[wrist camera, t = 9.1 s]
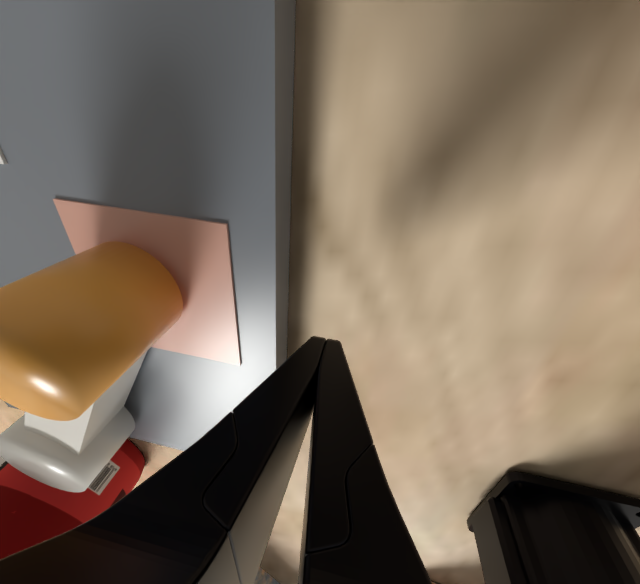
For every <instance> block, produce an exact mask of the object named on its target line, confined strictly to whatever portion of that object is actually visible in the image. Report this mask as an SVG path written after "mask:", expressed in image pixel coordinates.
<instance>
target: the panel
mask: <svg viewBox="0 0 640 584" xmlns="http://www.w3.org/2000/svg"><path fill="white" fill-rule="evenodd" d="M295 12H296V0H0V288H1V287H3V286H5V285H8V284H10V283H12V282H14V281H17V280H19V279H21V278H24V277H26V276H28V275H30V274H33V273H35V272H37V271H40V270H42V269H44V268H46V267H49V266H51V265H53V264H56V263H58V262H60V261H63V260H65V259H67V258H69V257H72V256H74V255H76V254H79V253H81V252H83V251H85V250H88V249H90V248H92V247H95V246H97V245H99V244H101V243H104V242H109V241H118V242H124V243H128V244H131V245H134V246H136V247H138V248H140V249H142V250H144V251H146V252H147V253H149V254H150V255H152V256H153V257H154V258H156V259H157V260H158V261H159V262H160V263H161V264H162V265H163V266H164V267H165V268H166V269H167V270H168V271H169V273H170V274H171V275H172V277H173V278H174V280H175V281H176V283H177V285H178V287H179V289H180V292H181V295H182V300H183V310H182V314H181V317H180V318H179V320H178V321H177V322H176V323H175V324H174V325H173V326H172V327H171V328H170V329H169V330H168V331H167V332H166V333H165V334H164V335H163V336H162V337H161V338H160V339H159V340H158V341H157V342H156V343H155V344H154V345H152V346H151V347H150V348H149V349H148V351H147V353H146V355H145V358H144V360H143V362H142V365H141V367H140V369H139V372H138V374H137V376H136V379H135V381H134V383H133V386H132V388H131V391H130V393H129V395H128V398H127V400H126V402H125V405H124V407H125V408H126V409H127V410H128V411H129V412H130V414H131V415H132V417H133V419H134V421H135V429H134V431H133V432H132V433H131V434H130V436H129V437H131V438H134V439H138V440H142V441H146V442H150V443H154V444H158V445H162V446H166V447H170V448H174V449H178V450H182V451H185V450H186V449H187V448H189V447H190V446H191V445H193V444H194V443H195V442H196V441H198V440H199V439H200V438H201V437H202V436H204V435H205V434H206V433H207V432H208V431H209V430H210V429H212V428H213V427H214V426H215V425H216V424H217V423H219V422H220V421H221V420H222V419H223V418H224V417H225V416H226V415H227V414H228V413H229V412H233V409H234V408H235V407H236V406H237V405H238V404H239V403H240V402H241V401H243V400H244V399H245V398H246V397H247V396H248V395H249V394H250V393H251V392H252V391H253V390H255V389H256V388H257V387H258V386H259V385H260V384H261V383H262V382H263V381H264V380H265V379H267V378H268V377H269V376H270V375H271V374H272V373H273V372H274V371H275V370H276V369H277V368H278V367H280V366H281V365H282V364H283V363H284V362H285V361H286V360H287V331H288V291H289V251H290V211H291V172H292V132H293V92H294V52H295ZM4 402H5V401H4ZM5 403H6V404H7V405H8V407H12V408H16V409H19V408H17V407H14V406H12V405H11V404H9V403H7V402H5ZM20 410H21V409H20Z"/></svg>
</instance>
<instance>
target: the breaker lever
mask: <svg viewBox="0 0 640 584" xmlns="http://www.w3.org/2000/svg"><path fill="white" fill-rule="evenodd" d="M182 310H183V300H182V295H181V292H180V289H179V287H178V285H177V283H176V281H175V280H174V278H173V277H172V275H171V274H170V273H169V271H168V270H167V269H166V268H165V267H164V266H163V265H162V264H161V263H160V262H159V261H158V260H157V259H156V258H154V257H153V256H152V255H150V254H149V253H147V252H146V251H144V250H142V249H140V248H138V247H136V246H134V245H131V244H128V243H124V242H118V241H109V242H104V243H101V244H99V245H97V246H95V247H92V248H90V249H88V250H85V251H83V252H81V253H79V254H76V255H74V256H72V257H69V258H67V259H65V260H63V261H60V262H58V263H56V264H53V265H51V266H49V267H46V268H44V269H42V270H40V271H37V272H35V273H33V274H30V275H28V276H26V277H24V278H21V279H19V280H17V281H14V282H12V283H10V284H8V285H5V286H3V287H1V288H0V399H2V400H3V401H5V402H7V403H9V404H11V405H12V406H14V407H17V408H19V409H21V410H23V411H25V414H24V415H23V416H22V417H21V418H20V419H18V420H17V421H16V422H15V423H13V424H12V425H11V426H10V427H9V428H7V429H6V430H5V431H4V432H2V433H1V434H0V456H1V457H2V458H3V459H4V460H5V461H7V462H8V463H9V464H10V465H12V466H13V467H15V468H16V469H18V470H19V471H21V472H22V473H24V474H26V475H28V476H29V477H31V478H33V479H35V480H37V481H39V482H42V483H44V484H46V485H49V486H51V487H54V488H57V489H60V490H64V491H68V492H83V491H85V490H86V489H87V488H88V487H89V485H90V484H91V483H92V482H93V480H94V479H95V478H96V477H97V475H98V474H99V473H100V472H101V470H102V469H103V468H104V467H105V465H106V464H107V463H108V462H109V460H110V459H111V458H112V457H113V455H114V454H115V453H116V452H117V451H118V449H119V448H120V447H121V446H122V444H123V443H124V442H125V441H126V439H127V438H128V437H129V436H130V434H131V433H132V432H133V431H134V429H135V421H134V419H133V417H132V415H131V414H130V412H129V411H128V410H127V409H126V408H125V407H124V405H125V402H126V400H127V398H128V395H129V393H130V391H131V388H132V386H133V383H134V381H135V379H136V376H137V374H138V372H139V369H140V367H141V365H142V362H143V360H144V358H145V355H146V353H147V351H148V349H149V348H150V347H151V346H152V345H154V344H155V343H156V342H157V341H158V340H159V339H160V338H161V337H162V336H163V335H164V334H165V333H166V332H167V331H168V330H169V329H170V328H171V327H172V326H173V325H174V324H175V323H176V322H177V321H178V320H179V318H180V317H181V314H182Z"/></svg>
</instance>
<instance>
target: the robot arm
mask: <svg viewBox="0 0 640 584" xmlns="http://www.w3.org/2000/svg"><path fill="white" fill-rule="evenodd" d="M312 413H313V418H312V429H311V440H310V452H309V463H308V474H307V486H306V497H305V508H304V519H303V531H302V542H301V553H300V565H299V576H298V584H432V582H431V580H430V578H429V576H428V573H427V571H426V569H425V567H424V565H423V562H422V560H421V558H420V556H419V553H418V551H417V549H416V547H415V545H414V542H413V540H412V538H411V536H410V534H409V531H408V529H407V527H406V525H405V522H404V520H403V518H402V516H401V514H400V511H399V509H398V507H397V504H396V502H395V499H394V497H393V495H392V492H391V490H390V488H389V485H388V482H387V480H386V477H385V474H384V471H383V469H382V466H381V463H380V460H379V457H378V454H377V451H376V448H375V445H373V439H372V436H371V433H370V430H369V427H368V424H367V421H366V418H365V415H364V412H363V409H362V406H361V403H360V400H359V397H358V394H357V390H356V387H355V384H354V381H353V378H352V375H351V372H350V369H349V366H348V363H347V360H346V357H345V354H344V351H343V348H342V345H341V342H340V341H338V340H332V339H327V340H326V339H325V338H322V337H317V336H313V337H311V338H310V339H309V340H308V341H307V342H306V343H305V344H303V345H302V346H301V347H300V348H299V349H298V350H297V351H296V352H295V353H294V354H293V355H292V356H290V357H289V358H288V359H287V360H286V361H285V362H284V363H283V364H282V365H281V366H280V367H278V368H277V369H276V370H275V371H274V372H273V373H272V374H271V375H270V376H269V377H268V378H267V379H265V380H264V381H263V382H262V383H261V384H260V385H259V386H258V387H257V388H256V389H255V390H253V391H252V392H251V393H250V394H249V395H248V396H247V397H246V398H245V399H244V400H243V401H241V402H240V403H239V404H238V405H237V406H236V407H235V408H234V409H233V412H229V413H228V414H227V415H226V416H225V417H224V418H223V419H222V420H221V421H220V422H219V423H217V424H216V425H215V426H214V427H213V428H212V429H210V430H209V431H208V432H207V433H206V434H205V435H204V436H202V437H201V438H200V439H199V440H198V441H196V442H195V443H194V444H193V445H191V446H190V447H189V448H187V449H186V450H185V451H184V452H182V453H181V454H180V455H179V456H177V457H176V458H175V459H173V460H172V461H171V462H169V463H168V464H167V465H165V466H164V467H163V468H161V469H160V470H159V471H157V472H156V473H155V474H153V475H152V476H151V477H149V478H148V479H147V480H145V481H144V482H143V483H141V484H140V485H139V486H138V487H136V488H135V489H134V490H132V491H131V492H130V493H128V494H127V495H126V496H124V497H123V498H122V499H120V500H119V501H118V502H116V503H115V504H113V505H112V506H111V507H109V508H108V509H106V510H105V511H103V512H102V513H100V514H99V515H97V516H95V517H94V518H92V519H90V520H88V521H87V522H85V523H83V524H81V525H79V526H77V527H75V528H73V529H71V530H69V531H67V532H65V533H63V534H60V535H58V536H55V537H53V538H51V539H48V540H46V541H43V542H41V543H39V544H36V545H34V546H31V547H29V548H27V549H24V550H22V551H19V552H17V553H14V554H12V555H10V556H7V557H5V558H2V559H0V584H254V581H255V578H256V576H257V573H258V570H259V567H260V564H261V561H262V558H263V555H264V552H265V549H266V547H267V544H268V541H269V538H270V535H271V532H272V529H273V526H274V523H275V520H276V518H277V515H278V512H279V509H280V506H281V503H282V500H283V497H284V494H285V492H286V489H287V486H288V483H289V480H290V477H291V474H292V471H293V468H294V465H295V463H296V460H297V457H298V454H299V451H300V448H301V445H302V442H303V439H304V436H305V434H306V431H307V428H308V425H309V422H310V419H311V416H312ZM467 525H468V529H469V530H470V531H471V532H474V534H475V539H476V544H477V548H478V553H479V557H480V562H481V566H482V571H483V575H484V580H485V584H640V537H639V535H638V534H637V532H636V530H635V528H637V527H639V526H640V500H639V499H635V498H631V497H626V496H622V495H618V494H613V493H609V492H604V491H600V490H596V489H591V488H587V487H583V486H578V485H574V484H569V483H565V482H561V481H556V480H552V479H548V478H543V477H539V476H534V475H530V474H526V473H521V472H511V473H508V474H506V475H505V476H504V478H503V479H502V480H501V481H500V482H499V483H498V484H497V486H496V487H495V488H494V489H493V490H492V491H491V493H490V494H489V495H488V496H487V497H486V498H485V499H484V501H483V502H482V503H481V504H480V505H479V506H478V507H477V509H476V510H475V511H474V512H473V513H472V514H471V516H470V517H469V518H468V519H467Z"/></svg>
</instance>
